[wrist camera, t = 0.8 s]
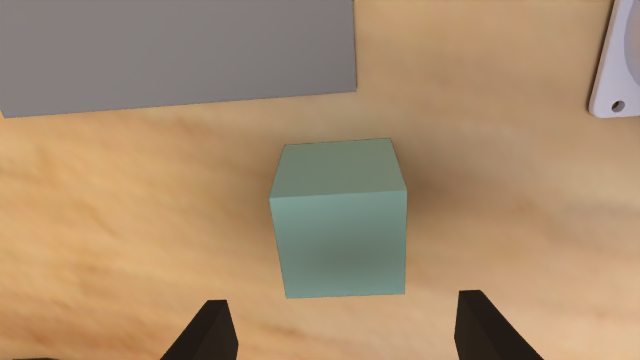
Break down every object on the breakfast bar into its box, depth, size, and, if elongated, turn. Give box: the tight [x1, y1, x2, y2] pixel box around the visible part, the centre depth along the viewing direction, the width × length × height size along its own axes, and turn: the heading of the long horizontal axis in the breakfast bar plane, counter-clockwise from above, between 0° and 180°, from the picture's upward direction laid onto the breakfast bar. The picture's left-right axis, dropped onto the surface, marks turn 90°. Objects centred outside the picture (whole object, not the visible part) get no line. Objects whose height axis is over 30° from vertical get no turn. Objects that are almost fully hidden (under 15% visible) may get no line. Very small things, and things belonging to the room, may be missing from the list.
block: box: [269, 138, 407, 299], centre depth 17 cm, size 5×5×5 cm
